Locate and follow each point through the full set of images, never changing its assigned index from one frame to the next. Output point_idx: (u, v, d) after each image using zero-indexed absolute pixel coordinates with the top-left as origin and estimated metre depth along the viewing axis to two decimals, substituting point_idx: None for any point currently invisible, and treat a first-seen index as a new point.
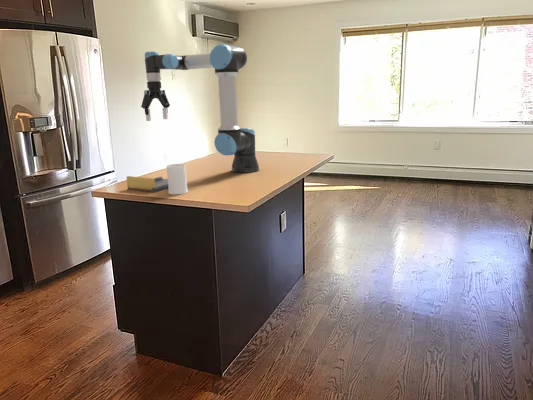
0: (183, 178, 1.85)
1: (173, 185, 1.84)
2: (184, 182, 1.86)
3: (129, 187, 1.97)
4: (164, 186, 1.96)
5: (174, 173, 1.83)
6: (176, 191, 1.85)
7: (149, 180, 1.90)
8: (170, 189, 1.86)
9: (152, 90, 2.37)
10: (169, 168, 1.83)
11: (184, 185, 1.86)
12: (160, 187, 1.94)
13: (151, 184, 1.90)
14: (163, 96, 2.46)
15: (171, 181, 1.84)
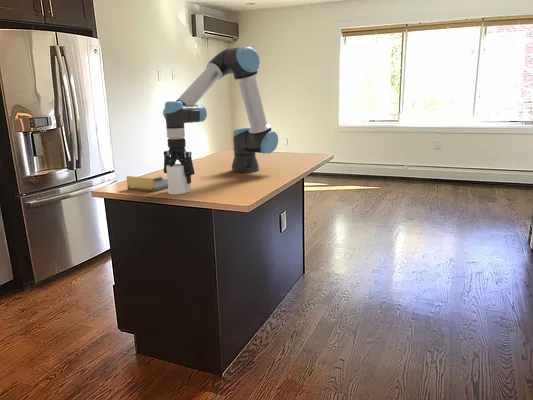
0: (183, 178, 1.85)
1: (173, 185, 1.84)
2: (184, 182, 1.86)
3: (129, 187, 1.97)
4: (164, 186, 1.96)
5: (174, 173, 1.83)
6: (176, 191, 1.85)
7: (149, 180, 1.90)
8: (170, 189, 1.86)
9: (169, 149, 1.87)
10: (169, 168, 1.83)
11: (184, 185, 1.86)
12: (160, 187, 1.94)
13: (151, 184, 1.90)
14: None
15: (171, 181, 1.84)
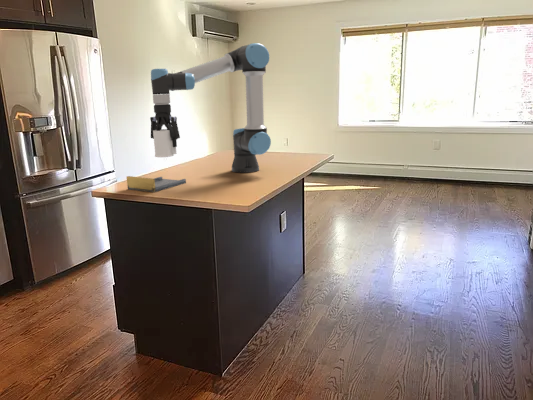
0: (169, 142, 1.97)
1: (159, 148, 1.96)
2: (170, 146, 1.98)
3: (129, 187, 1.97)
4: (164, 186, 1.96)
5: (160, 137, 1.95)
6: (162, 154, 1.96)
7: (149, 180, 1.90)
8: (156, 152, 1.97)
9: (156, 115, 1.98)
10: (155, 132, 1.95)
11: (170, 148, 1.98)
12: (160, 187, 1.94)
13: (151, 184, 1.90)
14: None
15: (157, 144, 1.96)
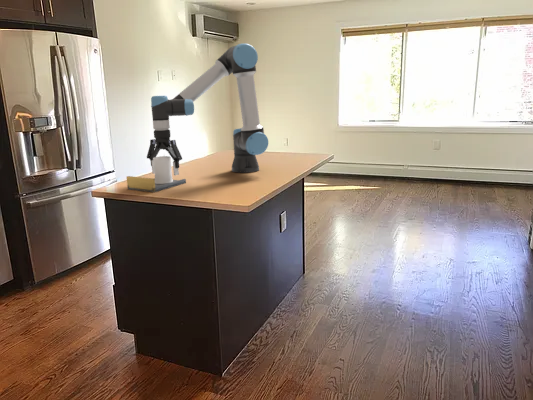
0: (168, 169, 2.03)
1: (159, 175, 2.02)
2: (169, 172, 2.04)
3: (129, 187, 1.97)
4: (164, 186, 1.96)
5: (160, 164, 2.01)
6: (162, 181, 2.03)
7: (149, 180, 1.90)
8: (156, 179, 2.03)
9: (156, 140, 2.04)
10: (155, 160, 2.01)
11: (169, 175, 2.04)
12: (160, 187, 1.94)
13: (151, 184, 1.90)
14: None
15: (157, 172, 2.02)
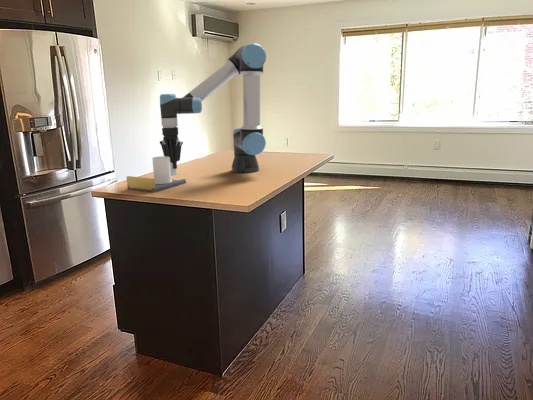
0: (168, 169, 2.03)
1: (158, 175, 2.02)
2: (168, 173, 2.03)
3: (129, 187, 1.97)
4: (164, 186, 1.96)
5: (159, 164, 2.00)
6: (161, 181, 2.02)
7: (149, 180, 1.90)
8: (156, 179, 2.03)
9: (163, 137, 2.09)
10: (155, 160, 2.00)
11: (168, 175, 2.04)
12: (160, 187, 1.94)
13: (151, 184, 1.90)
14: None
15: (156, 172, 2.01)
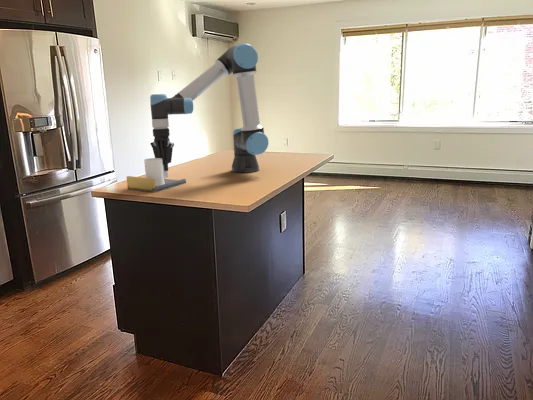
0: (161, 171, 1.99)
1: None
2: (162, 174, 1.99)
3: (129, 187, 1.97)
4: (164, 186, 1.96)
5: (153, 166, 1.96)
6: (155, 183, 1.97)
7: (149, 180, 1.90)
8: None
9: (154, 138, 2.04)
10: (148, 162, 1.95)
11: (162, 177, 2.00)
12: (160, 187, 1.94)
13: (151, 184, 1.90)
14: None
15: (150, 174, 1.96)
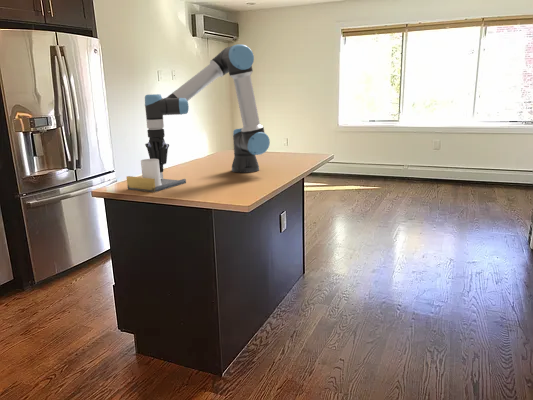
0: (159, 171, 1.98)
1: None
2: None
3: (129, 187, 1.97)
4: (164, 186, 1.96)
5: (152, 167, 1.94)
6: (155, 184, 1.96)
7: (149, 180, 1.90)
8: None
9: (149, 139, 2.01)
10: (147, 162, 1.93)
11: (160, 178, 1.99)
12: (160, 187, 1.94)
13: (151, 184, 1.90)
14: None
15: (149, 175, 1.95)
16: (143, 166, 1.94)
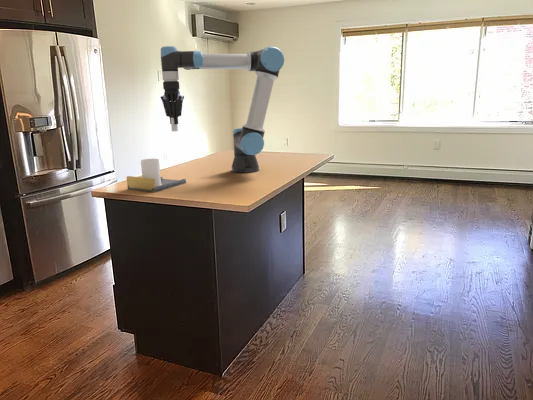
0: (159, 171, 1.98)
1: None
2: None
3: (129, 187, 1.97)
4: (164, 186, 1.96)
5: (152, 167, 1.94)
6: (155, 184, 1.96)
7: (149, 180, 1.90)
8: None
9: (164, 92, 2.06)
10: (147, 162, 1.93)
11: (160, 178, 1.99)
12: (160, 187, 1.94)
13: (151, 184, 1.90)
14: None
15: (149, 175, 1.95)
16: (143, 166, 1.94)
